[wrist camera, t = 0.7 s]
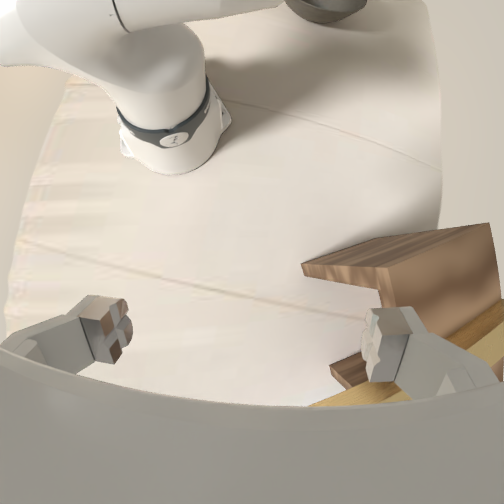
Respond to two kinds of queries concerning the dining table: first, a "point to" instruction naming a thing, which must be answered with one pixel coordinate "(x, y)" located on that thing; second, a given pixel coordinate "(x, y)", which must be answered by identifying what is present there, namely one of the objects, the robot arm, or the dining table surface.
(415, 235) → the walnut stand
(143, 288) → the dining table surface
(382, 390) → the brass bar
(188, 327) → the dining table surface
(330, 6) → the bowl
